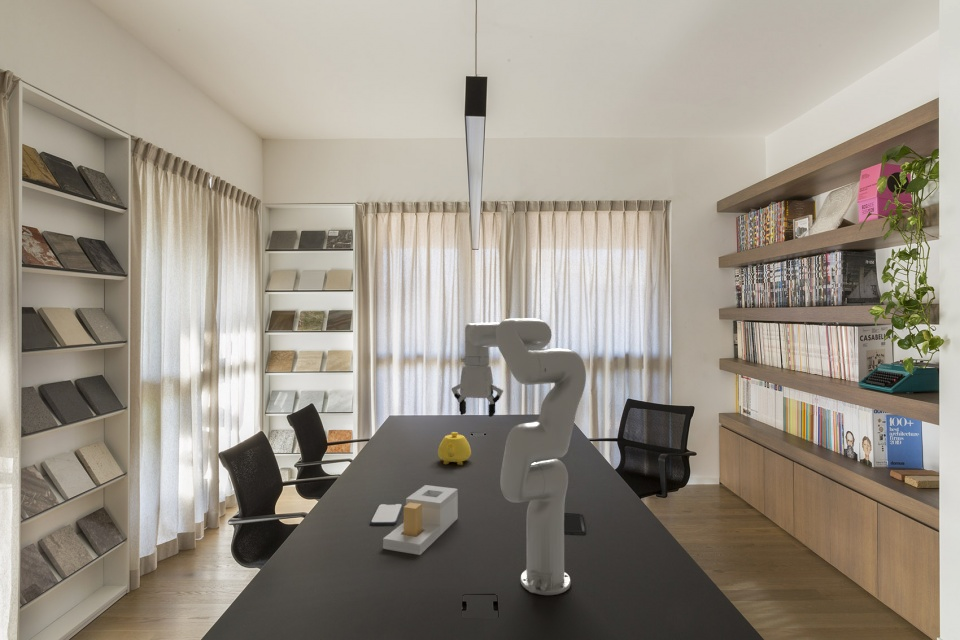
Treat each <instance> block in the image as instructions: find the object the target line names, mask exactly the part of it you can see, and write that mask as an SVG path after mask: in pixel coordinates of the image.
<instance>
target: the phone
mask: <svg viewBox="0 0 960 640" xmlns="http://www.w3.org/2000/svg"><path fill="white" fill-rule="evenodd" d="M565 534H566V535H567V534H568V535H585V534H586V525H585V518H584V515H583V514H582V513H576V512H575V513H574V512H573V513H570V512H569V513H568V512H564V535H565Z"/></svg>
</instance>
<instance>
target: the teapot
mask: <svg viewBox="0 0 960 640" xmlns="http://www.w3.org/2000/svg"><path fill="white" fill-rule="evenodd" d="M437 455H438V457H439V458H440V459H441V461H443V465H449V464H450V463H453V462H454V463H456V465H457V466H458V465H459V466H463V465H464V462H465V461H466V460H467V461H468V459H469V458H470V457H471V455H472V449H471V446H470V443H469V441H468V439H467V438H466V437H465V436H464V435H463V434H459V432H457V431H451V433H450V434H447V435H445V436H444V438H442V440H441V442H440V444H439V446H438V449H437Z"/></svg>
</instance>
